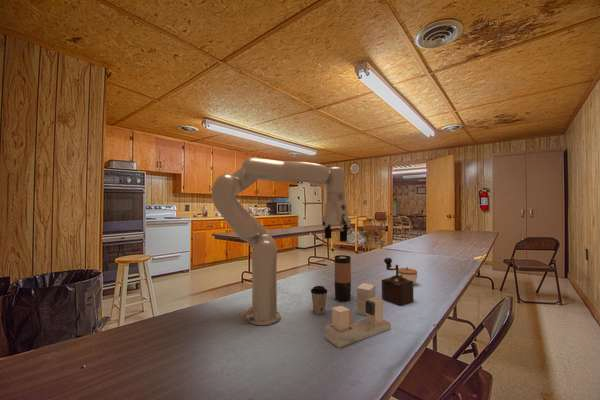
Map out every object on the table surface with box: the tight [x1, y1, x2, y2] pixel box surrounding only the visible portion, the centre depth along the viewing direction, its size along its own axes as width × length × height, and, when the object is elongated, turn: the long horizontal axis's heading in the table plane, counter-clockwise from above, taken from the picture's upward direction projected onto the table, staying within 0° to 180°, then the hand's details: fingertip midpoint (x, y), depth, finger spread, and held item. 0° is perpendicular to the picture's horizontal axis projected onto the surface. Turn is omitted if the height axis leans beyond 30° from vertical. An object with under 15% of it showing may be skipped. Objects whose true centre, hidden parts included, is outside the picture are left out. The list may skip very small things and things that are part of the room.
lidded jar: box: [398, 266, 418, 285], centre depth 147 cm, size 11×11×9 cm
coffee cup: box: [310, 285, 328, 315], centre depth 110 cm, size 7×7×10 cm
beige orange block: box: [331, 305, 352, 333], centre depth 88 cm, size 5×4×8 cm
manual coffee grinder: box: [381, 257, 415, 307], centre depth 125 cm, size 16×11×18 cm
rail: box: [323, 296, 392, 349], centre depth 91 cm, size 24×8×10 cm, turn 122°
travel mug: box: [334, 254, 352, 303], centre depth 124 cm, size 8×8×20 cm
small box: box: [356, 282, 376, 316], centre depth 110 cm, size 8×6×10 cm
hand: (335, 239), depth 107 cm, fingers open, 9 cm apart
